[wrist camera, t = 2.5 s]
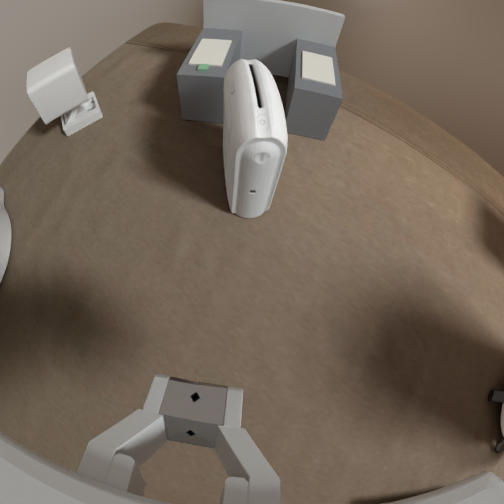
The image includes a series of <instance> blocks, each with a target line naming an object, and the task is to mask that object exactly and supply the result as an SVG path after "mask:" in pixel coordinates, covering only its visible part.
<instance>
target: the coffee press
mask: <svg viewBox="0 0 504 504" xmlns="http://www.w3.org/2000/svg"><path fill="white" fill-rule="evenodd" d="M488 401H490V402H498V403H503V405H502V410H501V431H502V434H503V437H504V391H491V392H490V396H489V400H488ZM503 444H504V439H503V440H502V441H501V442H500V443H498V445H497V446H496V452H497V453H504V449H503V450H502V451H501V450H500V449H501V446H502V445H503Z"/></svg>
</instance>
